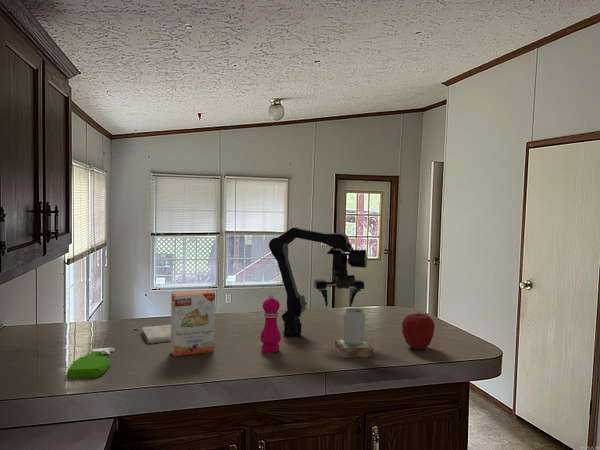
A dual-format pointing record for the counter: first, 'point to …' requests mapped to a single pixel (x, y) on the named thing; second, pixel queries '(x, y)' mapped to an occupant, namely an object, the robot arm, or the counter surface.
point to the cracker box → (192, 322)
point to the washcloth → (157, 333)
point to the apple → (418, 330)
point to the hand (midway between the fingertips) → (338, 306)
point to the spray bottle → (90, 364)
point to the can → (354, 326)
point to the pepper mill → (270, 326)
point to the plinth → (353, 349)
